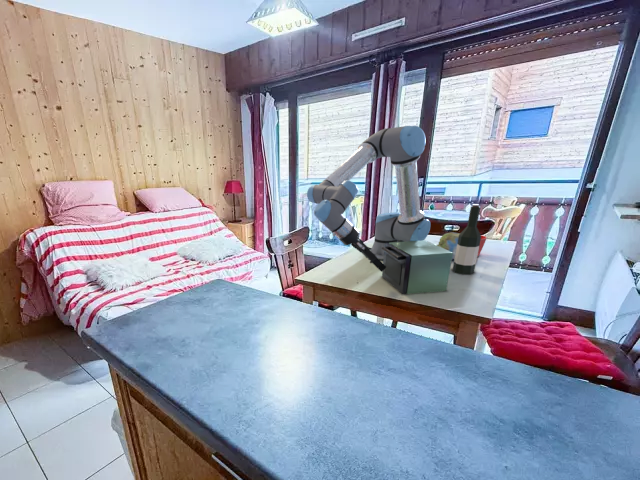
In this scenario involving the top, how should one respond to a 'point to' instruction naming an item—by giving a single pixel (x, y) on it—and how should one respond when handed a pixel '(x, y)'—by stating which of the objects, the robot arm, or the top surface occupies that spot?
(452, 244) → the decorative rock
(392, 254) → the oven door
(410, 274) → the oven
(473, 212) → the wine bottle
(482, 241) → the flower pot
